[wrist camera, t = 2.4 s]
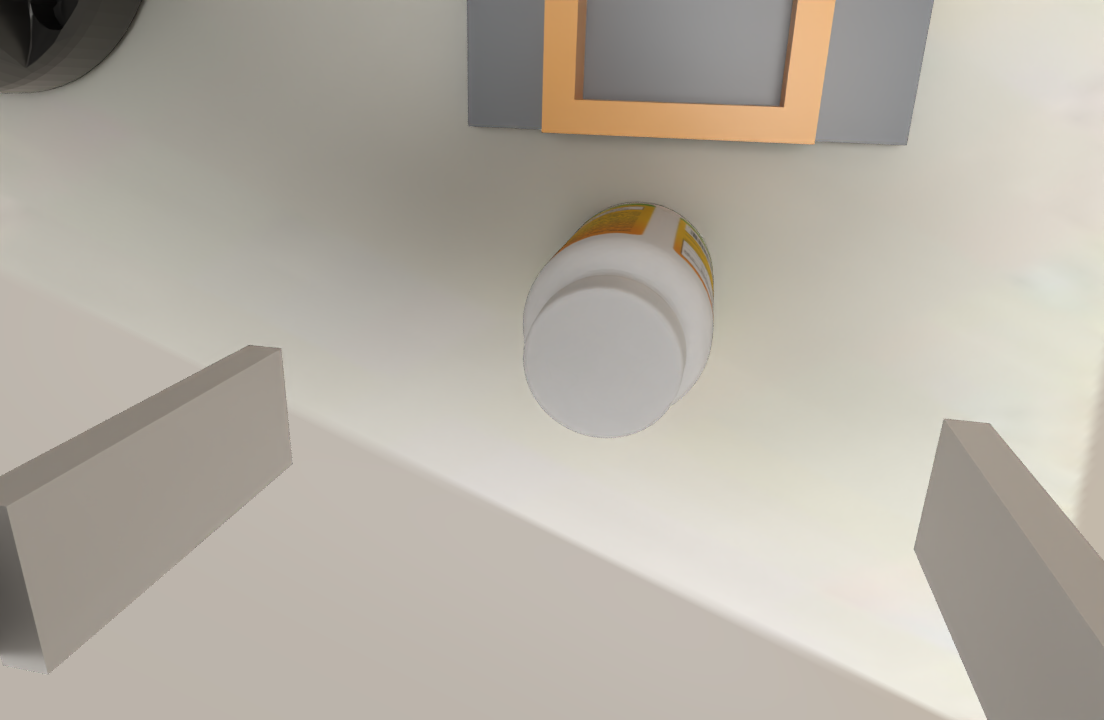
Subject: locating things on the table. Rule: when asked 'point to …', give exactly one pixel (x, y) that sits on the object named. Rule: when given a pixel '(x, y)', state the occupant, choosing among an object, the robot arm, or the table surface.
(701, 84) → the orange bottle caddy
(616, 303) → the supplement bottle
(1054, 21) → the table surface
